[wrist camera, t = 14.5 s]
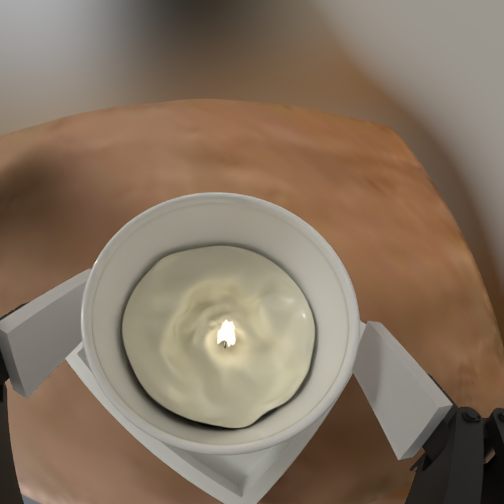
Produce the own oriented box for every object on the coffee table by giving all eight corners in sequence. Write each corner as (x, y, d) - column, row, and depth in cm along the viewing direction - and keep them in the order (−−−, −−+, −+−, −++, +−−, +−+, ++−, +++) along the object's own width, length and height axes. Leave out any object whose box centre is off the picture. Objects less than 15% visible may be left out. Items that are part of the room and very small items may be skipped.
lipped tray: (83, 362, 17) (60, 352, 14) (209, 240, 25) (210, 212, 22) (238, 496, 14) (245, 514, 10) (351, 344, 22) (374, 331, 18)
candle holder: (306, 383, 19) (405, 345, 9) (190, 448, 15) (161, 502, 5) (239, 282, 22) (265, 167, 12) (129, 332, 19) (57, 244, 9)
